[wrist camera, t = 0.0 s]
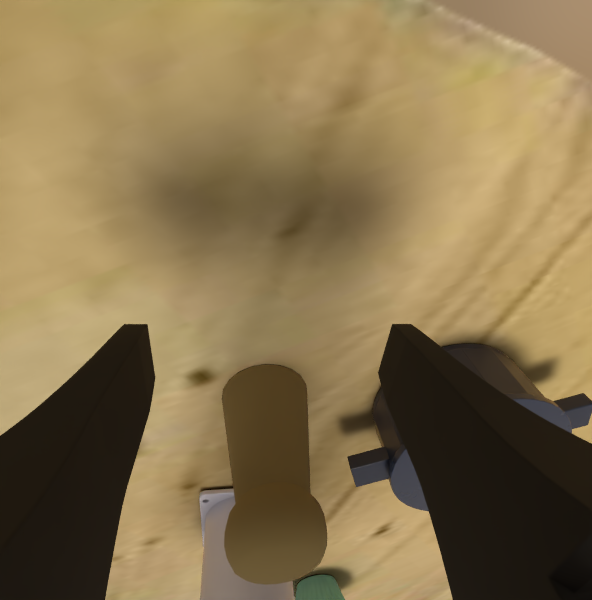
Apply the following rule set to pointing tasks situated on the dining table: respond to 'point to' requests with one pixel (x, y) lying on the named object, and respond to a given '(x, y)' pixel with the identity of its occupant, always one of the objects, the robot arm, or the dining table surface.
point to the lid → (403, 469)
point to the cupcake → (318, 588)
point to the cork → (271, 478)
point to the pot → (487, 367)
